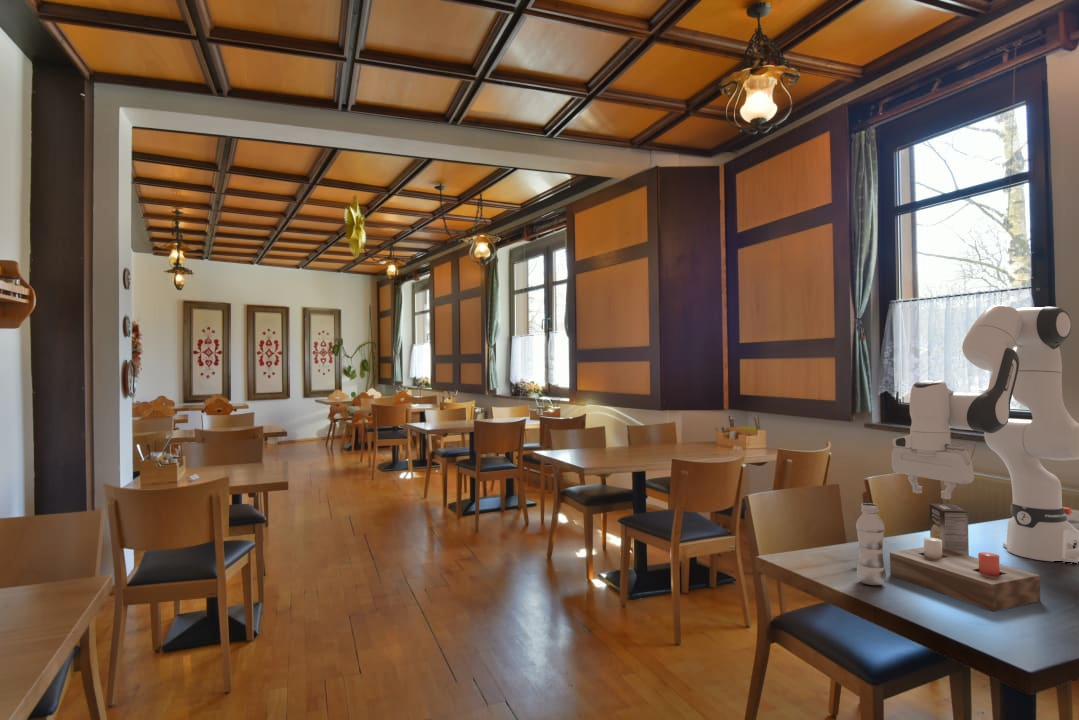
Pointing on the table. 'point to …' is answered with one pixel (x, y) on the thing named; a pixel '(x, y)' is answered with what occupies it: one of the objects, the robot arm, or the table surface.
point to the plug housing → (966, 579)
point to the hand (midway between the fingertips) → (931, 495)
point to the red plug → (989, 563)
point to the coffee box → (950, 527)
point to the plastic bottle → (870, 546)
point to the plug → (933, 548)
